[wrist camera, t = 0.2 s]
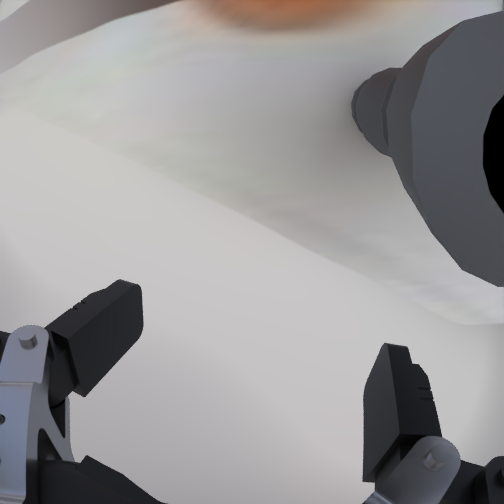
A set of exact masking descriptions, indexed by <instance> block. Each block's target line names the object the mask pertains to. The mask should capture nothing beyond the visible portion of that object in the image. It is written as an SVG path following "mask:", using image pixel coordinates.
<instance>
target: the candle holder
mask: <svg viewBox="0 0 504 504" xmlns="http://www.w3.org/2000/svg"><path fill="white" fill-rule="evenodd" d="M351 106H352V116H353V118H354V120H355V122H356V124H357V126H358V128H359V130H360V131H361V132H362V133H363V134H364V136H365V138H366V140H367V141H369V142H370V143H371V144H372V145H373V146H374V147H375V148H376V149H377V150H378V151H379V152H380V153H383V154H385V155H387V156H390V157H392V159H393V162H394V164H395V166H396V169H397V171H398V174H399V176H400V179H401V181H402V184H403V186H404V188H405V190H406V191H407V193H408V194H409V196H410V198H411V199H412V201H413V202H414V204H415V206H416V207H417V209H418V211H419V212H420V214H421V216H422V217H423V219H424V221H425V222H426V224H427V226H428V228H429V229H430V231H431V233H432V234H433V235H434V236H435V237H436V239H437V240H438V241H439V242H440V243H441V245H442V246H443V247H444V248H445V249H446V251H447V252H448V253H449V254H450V255H451V257H452V258H453V259H454V260H455V262H456V263H457V264H458V265H459V267H460V268H461V269H462V270H463V271H466V272H468V273H470V274H472V275H474V276H476V277H479V278H481V279H483V280H485V281H487V282H489V283H491V284H493V285H495V286H497V287H504V11H501V12H496V13H492V14H488V15H484V16H480V17H476V18H472V19H468V20H465V21H462V22H460V23H458V24H457V25H455V26H453V27H452V28H450V29H449V30H447V31H445V32H444V33H442V34H440V35H439V36H437V37H436V38H434V39H433V40H431V41H429V42H428V43H426V44H425V45H423V46H422V47H421V48H420V49H419V50H418V51H417V52H416V53H415V54H414V56H413V57H412V58H411V59H410V60H409V61H408V62H407V63H406V64H405V65H404V66H403V67H402V68H388V69H386V70H383V71H381V72H378V73H376V74H374V75H372V77H371V78H370V79H368V80H366V81H365V82H363V83H362V85H361V86H360V87H359V88H358V89H357V90H356V91H355V93H354V97H353V100H352V103H351Z"/></svg>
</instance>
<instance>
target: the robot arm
mask: <svg viewBox="0 0 504 504" xmlns="http://www.w3.org/2000/svg"><path fill="white" fill-rule="evenodd" d="M142 330H143V307H142V291H141V287H140V286H139V285H138V284H134V283H131V282H127V281H124V280H121V279H119V280H117V281H115V282H114V283H112V284H111V285H110V286H108V287H107V288H106V289H102V290H99V291H97V292H94V293H91V294H90V295H88V296H87V297H86V298H84V299H83V300H81V302H78V303H77V304H76V305H74V306H73V308H70V309H69V310H68V311H66V312H65V313H64V314H62V315H61V316H59V317H58V318H57V319H56V320H54V321H53V322H52V323H50V324H49V325H47V326H46V327H45V328H43V327H41V326H36V325H27V326H23V327H20V328H18V329H16V330H15V331H14V332H12V333H7V332H2V331H0V504H165V503H162V502H160V501H158V500H156V499H155V498H153V497H152V496H150V495H149V494H148V493H146V492H145V491H144V490H142V489H141V488H140V487H138V486H137V485H136V484H134V483H133V482H132V481H131V480H129V479H128V478H127V477H125V476H124V475H123V474H121V473H119V472H117V471H115V470H113V469H111V468H110V467H108V466H106V465H104V464H102V463H100V462H98V461H97V460H95V459H93V458H91V457H89V456H88V455H86V456H85V458H84V459H83V460H82V462H81V463H78V462H75V461H74V457H73V454H72V451H71V445H70V418H69V417H70V415H69V414H70V413H69V412H70V408H69V405H70V402H69V398H68V395H69V394H70V393H71V392H72V391H74V392H75V393H77V394H79V395H81V396H83V397H86V395H87V394H88V393H89V392H90V391H91V390H92V389H93V388H94V387H95V386H96V385H97V383H98V382H99V381H100V380H101V379H102V378H103V377H104V376H105V375H106V374H107V373H108V371H109V370H110V369H111V368H112V367H113V366H114V365H115V364H116V363H117V362H118V361H119V360H120V358H121V357H122V356H123V355H124V354H125V353H126V352H127V351H128V350H129V349H130V348H131V347H132V346H133V344H134V343H135V342H136V341H137V340H138V339H139V337H140V336H141V333H142ZM430 389H431V387H430V383H429V379H428V376H427V375H426V373H425V372H424V371H423V369H422V368H421V367H420V365H419V364H412V361H411V358H410V353H409V350H408V347H406V346H401V345H394V344H388V343H384V344H383V346H382V347H381V349H380V352H379V354H378V356H377V359H376V361H375V363H374V366H373V368H372V370H371V372H370V375H369V377H368V379H367V382H366V385H365V389H364V395H363V403H364V404H363V407H364V451H363V454H364V455H363V482H373V483H374V482H375V491H374V492H373V493H372V494H371V495H370V496H369V497H368V498H367V500H366V501H365V502H364V503H362V504H504V456H498V457H495V458H493V459H492V460H491V461H490V462H489V463H488V464H487V465H486V466H485V467H483V466H479V465H476V464H472V463H469V462H465V461H463V460H461V459H460V455H459V452H458V450H457V449H456V447H455V446H454V445H453V444H452V443H451V442H450V441H448V440H446V439H444V438H442V434H441V429H440V424H439V420H438V415H437V411H436V407H435V403H434V401H433V395H432V391H430Z"/></svg>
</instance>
